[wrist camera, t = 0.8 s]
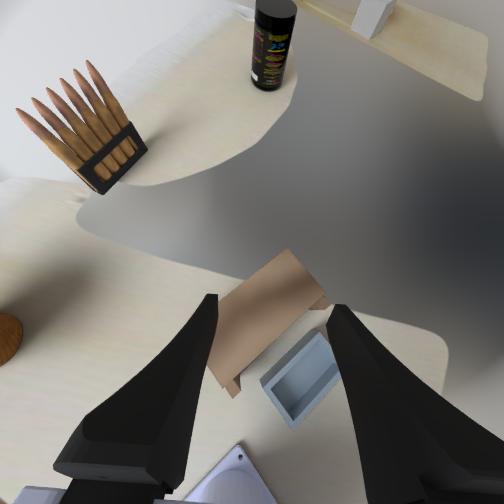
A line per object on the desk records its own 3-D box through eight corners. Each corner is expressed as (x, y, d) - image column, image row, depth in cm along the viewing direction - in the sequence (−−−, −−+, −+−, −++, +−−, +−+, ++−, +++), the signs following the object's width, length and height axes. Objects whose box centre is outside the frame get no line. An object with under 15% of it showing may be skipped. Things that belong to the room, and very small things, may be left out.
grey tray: (336, 361, 25) (349, 367, 22) (285, 416, 22) (293, 431, 19) (310, 329, 25) (319, 331, 23) (259, 378, 23) (262, 388, 20)
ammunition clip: (103, 196, 29) (15, 118, 17) (93, 190, 29) (-1, 110, 17) (148, 149, 32) (100, 59, 20) (139, 145, 32) (86, 52, 21)
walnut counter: (313, 305, 26) (335, 303, 20) (233, 380, 23) (232, 403, 17) (276, 261, 28) (287, 248, 22) (195, 325, 24) (183, 329, 18)
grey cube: (380, 32, 50) (399, -4, 44) (368, 40, 48) (386, 4, 42) (361, 21, 51) (377, -16, 45) (349, 29, 49) (365, -8, 43)
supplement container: (288, 86, 40) (305, 12, 30) (262, 97, 38) (272, 22, 28) (269, 67, 41) (280, -10, 31) (244, 77, 40) (247, -2, 30)
